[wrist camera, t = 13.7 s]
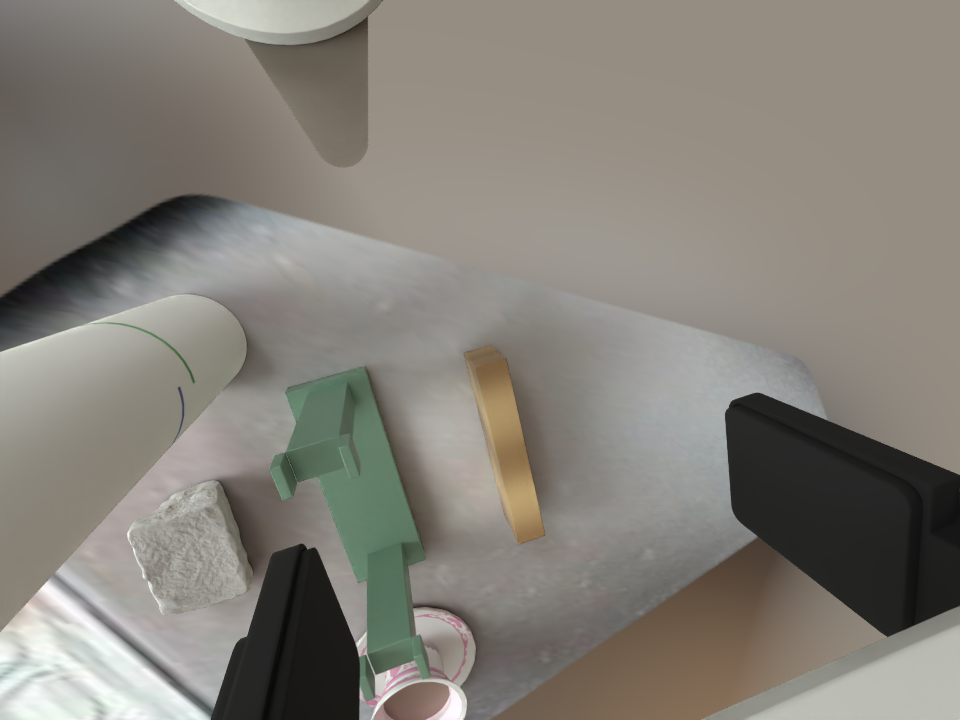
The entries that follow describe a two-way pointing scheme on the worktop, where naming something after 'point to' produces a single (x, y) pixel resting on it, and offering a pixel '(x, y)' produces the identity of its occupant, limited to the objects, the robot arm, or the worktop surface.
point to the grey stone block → (192, 550)
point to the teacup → (438, 699)
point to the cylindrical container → (98, 423)
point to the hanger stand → (360, 508)
